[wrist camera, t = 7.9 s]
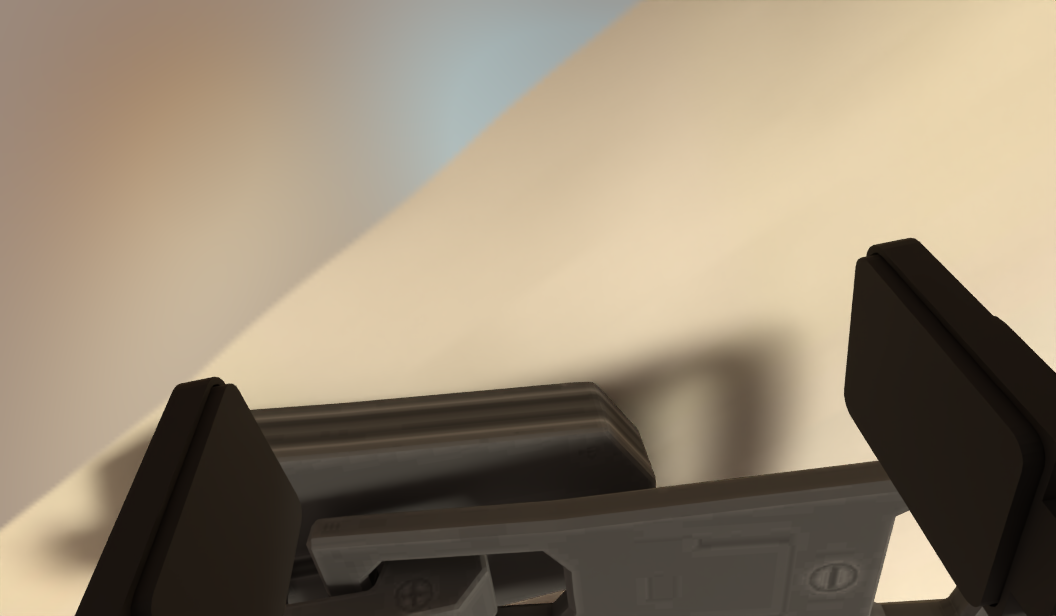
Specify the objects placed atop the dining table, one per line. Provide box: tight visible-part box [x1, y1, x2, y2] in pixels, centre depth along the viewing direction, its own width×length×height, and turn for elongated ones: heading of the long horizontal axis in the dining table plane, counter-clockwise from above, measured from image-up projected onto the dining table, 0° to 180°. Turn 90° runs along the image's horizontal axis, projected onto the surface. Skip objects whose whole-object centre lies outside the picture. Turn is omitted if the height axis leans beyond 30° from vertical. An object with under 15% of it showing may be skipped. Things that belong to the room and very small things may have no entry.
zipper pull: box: [250, 382, 988, 616], centre depth 22 cm, size 9×7×25 cm
